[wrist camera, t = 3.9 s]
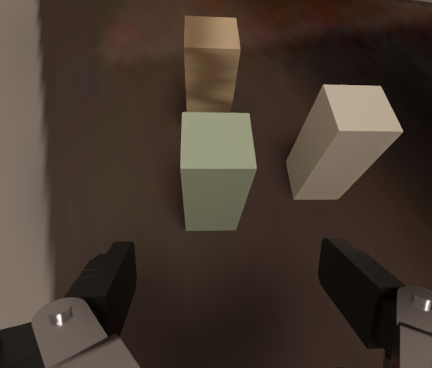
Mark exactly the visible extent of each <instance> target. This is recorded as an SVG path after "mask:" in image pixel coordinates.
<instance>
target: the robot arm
mask: <svg viewBox="0 0 432 368" xmlns="http://www.w3.org/2000/svg"><path fill="white" fill-rule="evenodd" d="M318 276H319V281H320V284H321V286H322V287H323V288H324V290H325V291H326V293H327V294H328V295H329V297H330V298H331V299H332V301H333V302H334V304H335V305H336V306H337V308H338V309H339V310H340V312H341V313H342V315H343V316H344V317H345V319H346V320H347V321H348V323H349V324H350V326H351V327H352V328H353V330H354V331H355V332H356V334H357V335H358V337H359V338H360V339H361V341H362V342H363V343H364V345H365V346H366V348H367V349H376V348H383V349H384V350H385V354H384V359H383V368H432V291H429V290H427V289H423V288H420V287H415V286H405V285H404V284H403V283H402V282H401V281H399V280H398V279H397V278H396V277H395V276H393V275H392V274H391V273H390V272H388V271H387V270H386V269H384V267H382V266H381V265H380V264H379V263H377V262H376V261H375V260H374V259H373V258H371V257H370V256H369V255H368V254H366V253H364V252H362V251H360V250H358V249H356V248H354V247H353V246H352V245H351V244H350V243H348V242H347V241H346V240H345V239H344V238H324V239H323V241H322V244H321V253H320V261H319V269H318ZM136 279H137V277H136V261H135V246H134V242H114V243H113V244H112V246H111V247H110V249H109V251H108V252H107V254H99V255H98V256H96V257H95V258H94V259H92V260H91V261H89V263H88V264H87V266H86V267H85V268H84V271H82V273H81V274H80V275H79V278H77V280H76V281H75V283H74V284H73V285H72V287H71V288H70V290H69V291H68V292H67V294H66V295H65V297H64V298H62V299H59V300H56V301H53V302H51V303H49V304H47V305H45V306H44V307H42V308H41V309H40V310H38V311H37V312H36V314H35V315H34V316H33V319H32V322H30V323H26V324H23V325H18V326H15V327H10V328H6V329H2V330H0V368H140V367H139V365H138V364H137V362H136V361H135V359H134V358H133V356H132V355H131V353H130V352H129V351H128V349H127V348H126V346H125V345H124V343H123V342H122V340H121V339H120V334H121V331H122V328H123V325H124V322H125V319H126V316H127V313H128V311H129V308H130V305H131V302H132V299H133V296H134V293H135V289H136ZM340 368H341V367H340Z"/></svg>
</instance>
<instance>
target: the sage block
mask: <svg viewBox="0 0 432 368" xmlns="http://www.w3.org/2000/svg"><path fill="white" fill-rule="evenodd" d="M180 170H181V182H182V193H183V204H184V215H185V227H186V231H214V230H236V229H237V226H238V223H239V220H240V217H241V214H242V211H243V208H244V205H245V202H246V199H247V196H248V193H249V190H250V187H251V184H252V181H253V179H254V176H255V173H256V170H257V166H256V159H255V152H254V144H253V137H252V130H251V122H250V115H249V113H209V112H182V133H181V164H180Z"/></svg>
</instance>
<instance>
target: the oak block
mask: <svg viewBox="0 0 432 368" xmlns="http://www.w3.org/2000/svg"><path fill="white" fill-rule="evenodd" d="M239 55H240V42H239V35H238V28H237V20H236V18H224V17H200V16H185V34H184V58H185V83H186V108H187V112H209V113H231V109H232V103H233V96H234V89H235V82H236V76H237V69H238V62H239Z"/></svg>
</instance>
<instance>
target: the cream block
mask: <svg viewBox="0 0 432 368" xmlns="http://www.w3.org/2000/svg"><path fill="white" fill-rule="evenodd" d="M402 133H403V130H402V128H401V126H400V124H399V122H398V120H397V118H396V116H395V114H394V112H393V110H392V108H391V106H390V104H389V102H388V100H387V98H386V96H385V94H384V92H383V90H382V88H381V86H357V85H323V86H322V88H321V90H320V92H319V94H318V96H317V99H316V101H315V103H314V105H313V107H312V109H311V111H310V113H309V115H308V117H307V119H306V121H305V123H304V125H303V127H302V129H301V132H300V134H299V136H298V138H297V140H296V142H295V144H294V146H293V148H292V150H291V152H290V154H289V156H288V158H287V160H286V165H287V170H288V175H289V180H290V185H291V190H292V195H293V200H338V199H339V198H340V197H341V196H342V195H343V194H344V193H345V192H346V191H347V190H348V189H349V188H350V187H351V186H352V185H353V183H354V182H355V181H356V180H357V179H358V178H359V177H360V176H361V175H362V174H363V173H364V172H365V171H366V170H367V169H368V168H369V167H370V166H371V165H372V164H373V163H374V162H375V161H376V160H377V159H378V158H379V156H380V155H381V154H382V153H383V152H384V151H385V150H386V149H387V148H388V147H389V146H390V145H391V144H392V143H393V142H394V141H395V140H396V139H397V138H398V137H399V136H400V135H401V134H402Z"/></svg>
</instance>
